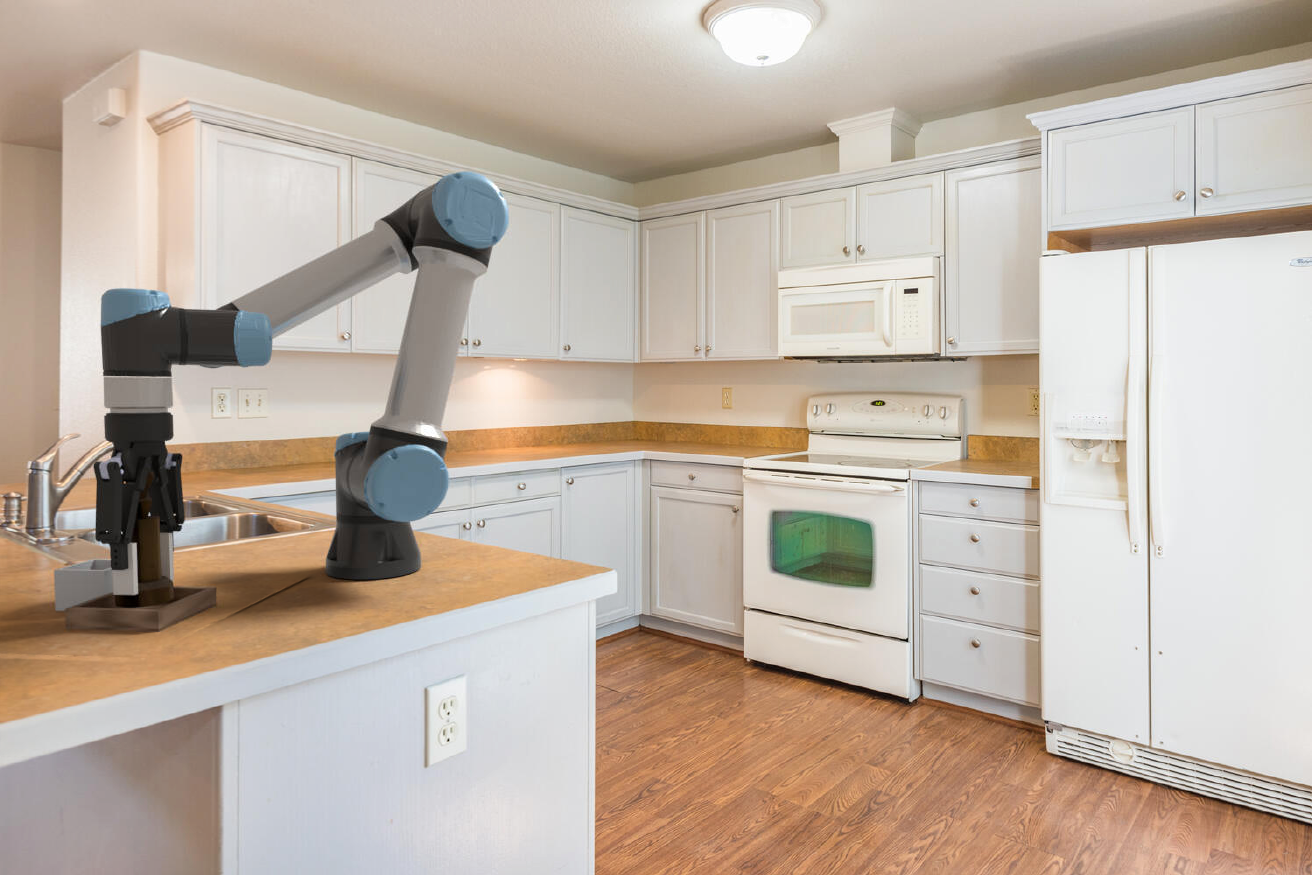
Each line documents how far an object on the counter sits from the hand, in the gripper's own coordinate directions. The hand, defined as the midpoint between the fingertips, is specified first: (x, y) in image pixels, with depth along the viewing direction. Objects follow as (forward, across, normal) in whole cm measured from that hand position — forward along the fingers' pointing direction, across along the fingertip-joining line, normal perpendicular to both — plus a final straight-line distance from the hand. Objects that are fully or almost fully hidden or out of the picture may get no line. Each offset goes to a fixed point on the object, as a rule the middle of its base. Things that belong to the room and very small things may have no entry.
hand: (144, 586), depth 107 cm
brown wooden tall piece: (+2, 0, 0) cm, 2 cm away
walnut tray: (+4, 0, 0) cm, 4 cm away
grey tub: (+4, -5, -10) cm, 12 cm away
